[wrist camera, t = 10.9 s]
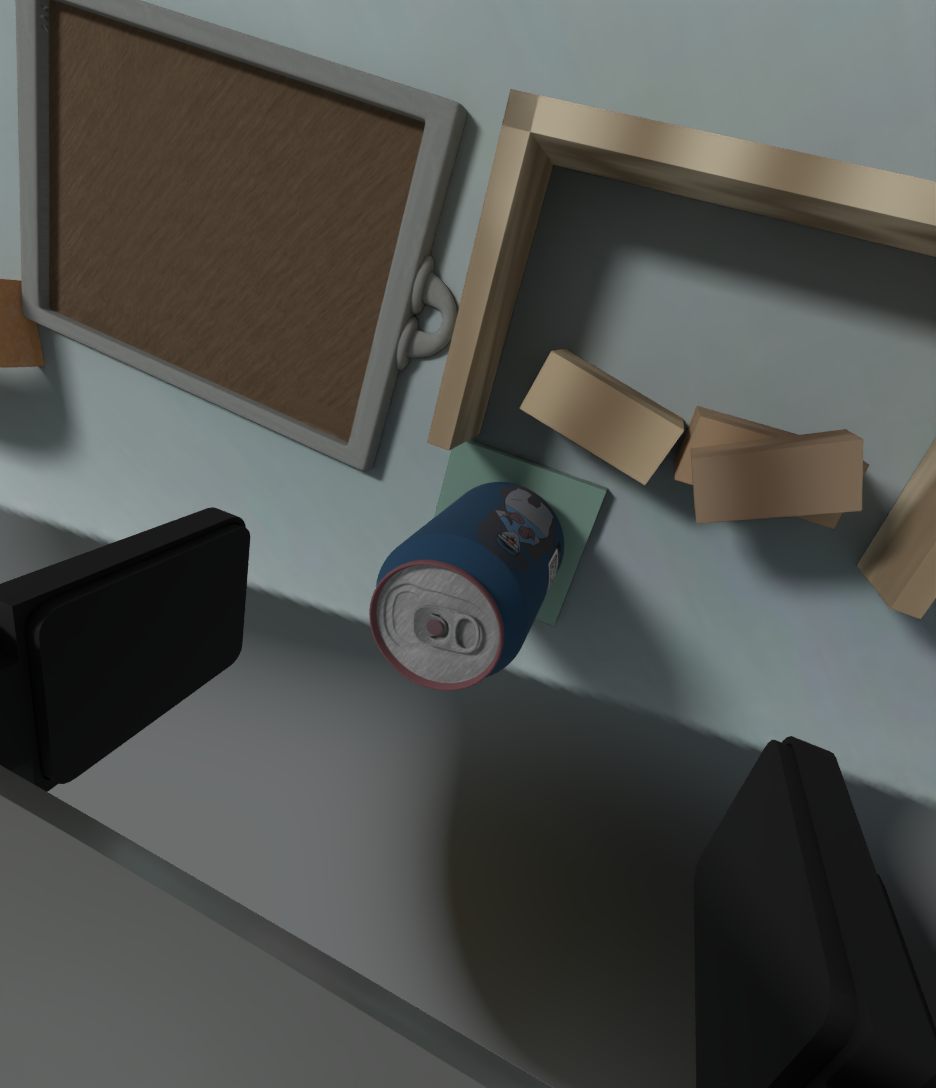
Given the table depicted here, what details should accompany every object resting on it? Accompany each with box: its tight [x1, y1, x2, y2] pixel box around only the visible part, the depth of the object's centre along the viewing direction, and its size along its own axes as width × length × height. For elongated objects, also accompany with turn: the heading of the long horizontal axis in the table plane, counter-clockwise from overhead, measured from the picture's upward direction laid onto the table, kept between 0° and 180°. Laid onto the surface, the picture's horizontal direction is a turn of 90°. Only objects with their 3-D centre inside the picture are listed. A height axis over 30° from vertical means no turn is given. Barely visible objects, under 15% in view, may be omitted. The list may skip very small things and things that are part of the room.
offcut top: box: [690, 429, 863, 523], centre depth 24 cm, size 6×3×2 cm, turn 100°
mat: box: [434, 440, 608, 627], centre depth 34 cm, size 9×9×1 cm
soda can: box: [369, 482, 564, 691], centre depth 28 cm, size 7×7×12 cm
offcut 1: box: [520, 349, 684, 485], centre depth 28 cm, size 7×3×4 cm, turn 61°
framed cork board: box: [16, 0, 467, 471], centre depth 33 cm, size 19×2×30 cm
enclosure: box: [427, 89, 936, 619], centre depth 25 cm, size 23×15×5 cm, turn 74°
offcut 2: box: [674, 406, 869, 529], centre depth 27 cm, size 7×3×4 cm, turn 75°
